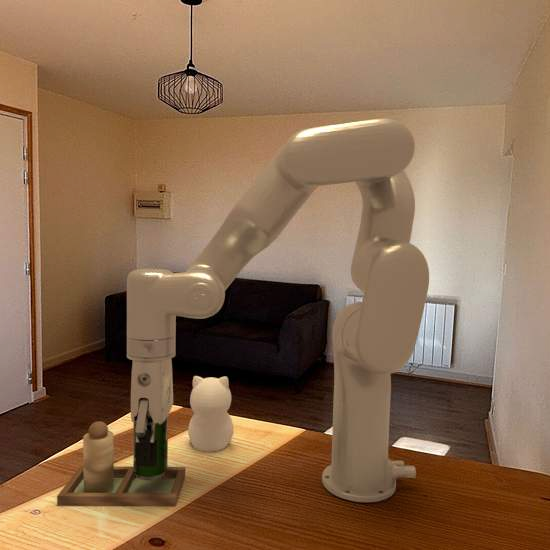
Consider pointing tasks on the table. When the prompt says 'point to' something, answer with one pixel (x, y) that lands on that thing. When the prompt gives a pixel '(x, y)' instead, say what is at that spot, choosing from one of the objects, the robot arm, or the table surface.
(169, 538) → the table surface
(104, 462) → the pepper mill
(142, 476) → the guarana soda can
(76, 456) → the table surface
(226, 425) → the cat figurine
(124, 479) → the caddy
